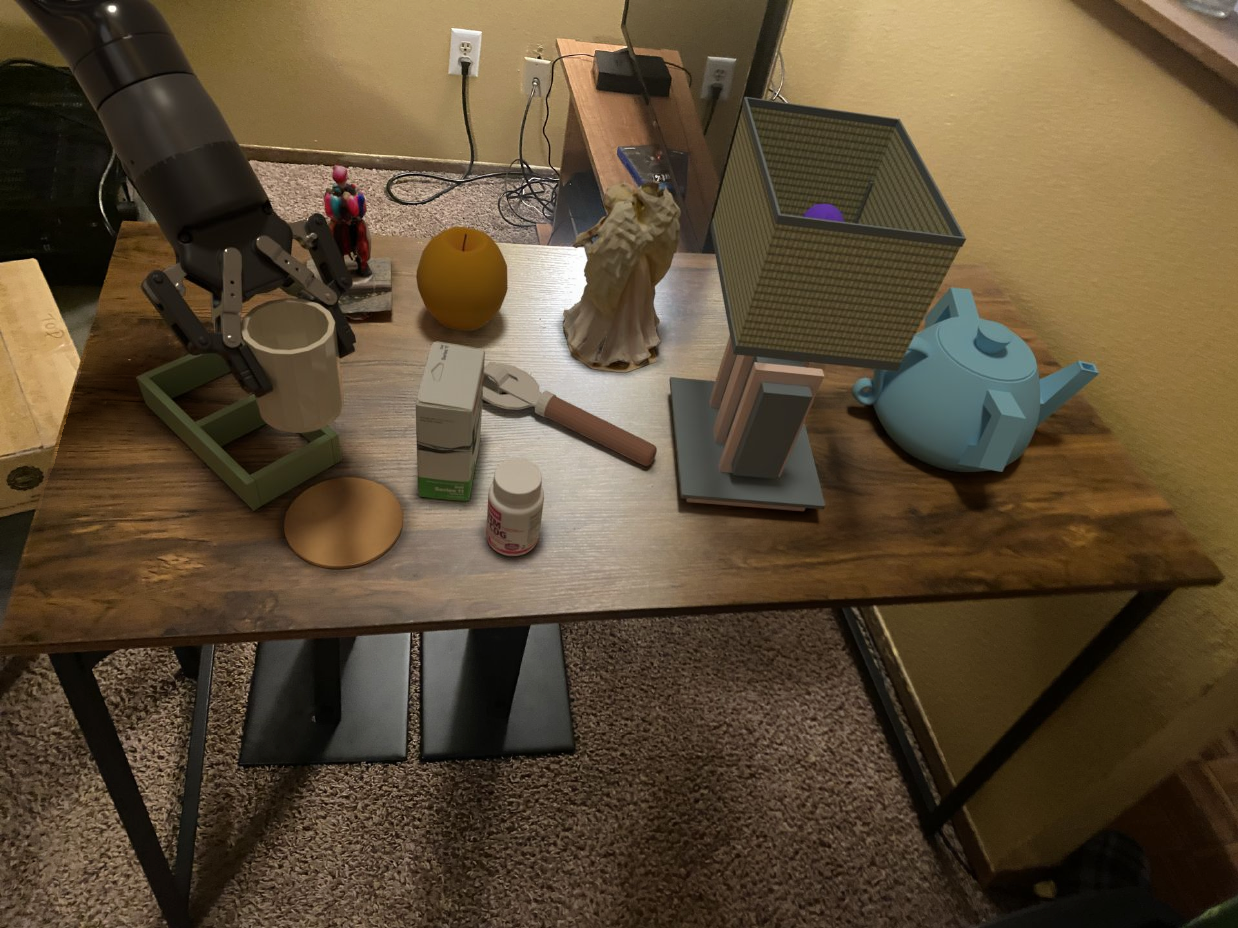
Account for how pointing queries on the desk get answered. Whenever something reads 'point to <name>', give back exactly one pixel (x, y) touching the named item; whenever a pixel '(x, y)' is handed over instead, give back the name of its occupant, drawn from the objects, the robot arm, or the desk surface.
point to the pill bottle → (515, 507)
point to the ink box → (449, 420)
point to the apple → (462, 278)
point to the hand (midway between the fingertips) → (307, 373)
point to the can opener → (559, 411)
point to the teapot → (967, 390)
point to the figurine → (623, 278)
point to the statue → (355, 250)
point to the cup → (296, 363)
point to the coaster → (343, 523)
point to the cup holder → (232, 431)
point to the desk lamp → (806, 290)
